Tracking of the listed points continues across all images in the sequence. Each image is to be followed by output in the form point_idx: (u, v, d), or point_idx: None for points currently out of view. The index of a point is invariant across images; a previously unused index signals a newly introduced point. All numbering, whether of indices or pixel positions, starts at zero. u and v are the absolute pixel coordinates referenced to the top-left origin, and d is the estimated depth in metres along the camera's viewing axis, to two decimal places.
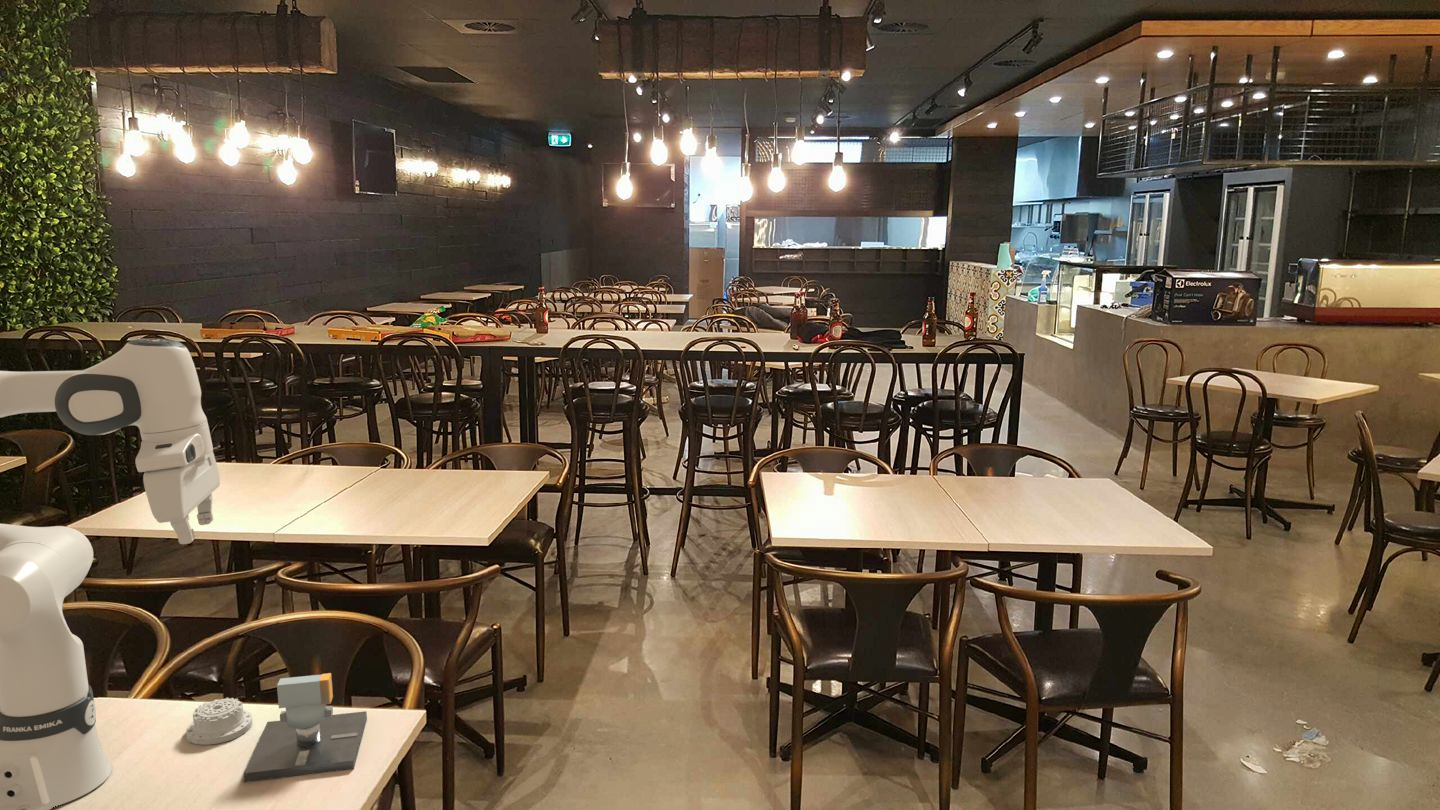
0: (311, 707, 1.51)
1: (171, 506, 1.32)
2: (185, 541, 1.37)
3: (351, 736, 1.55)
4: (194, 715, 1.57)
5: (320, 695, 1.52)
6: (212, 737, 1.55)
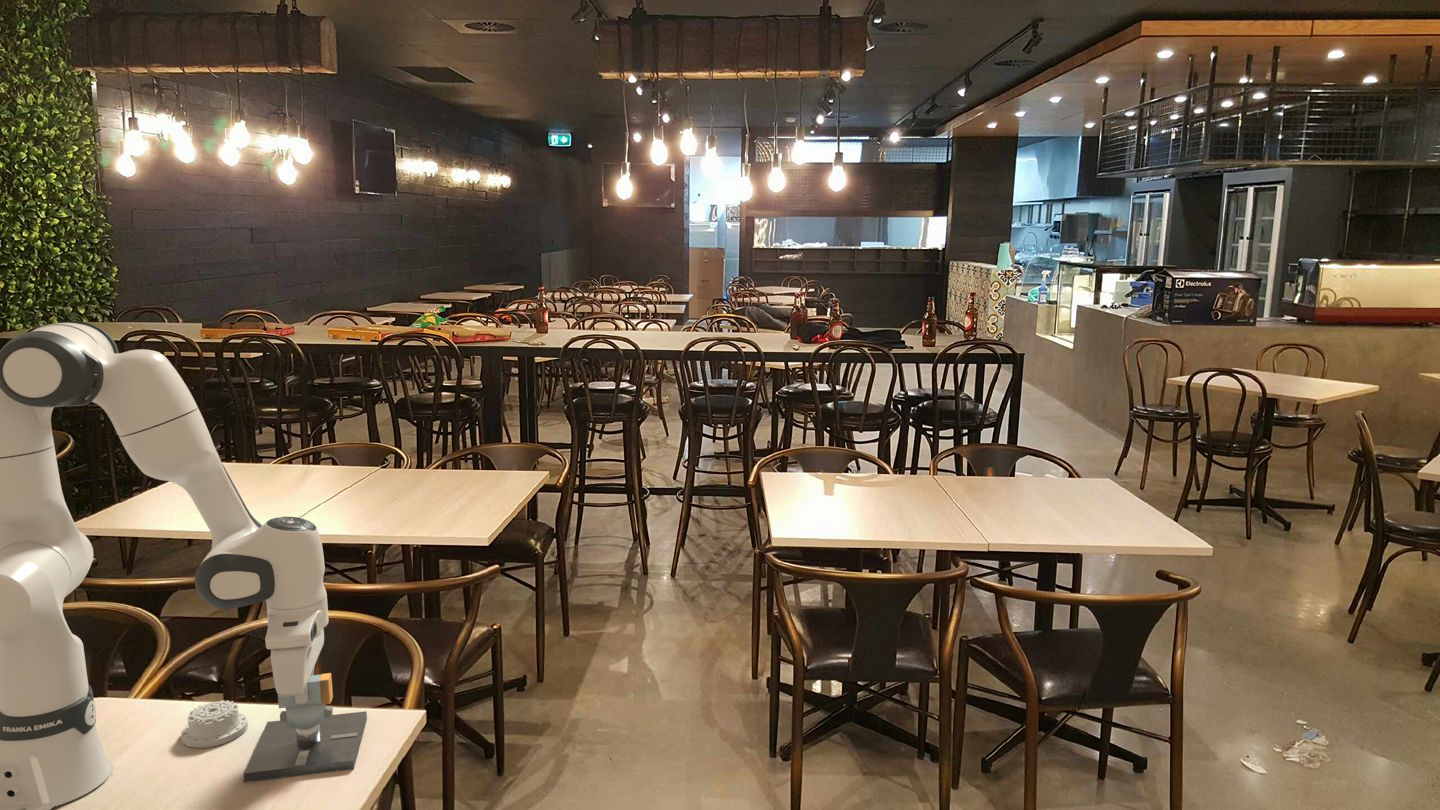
0: (311, 707, 1.51)
1: (294, 683, 1.42)
2: (301, 701, 1.50)
3: (351, 736, 1.55)
4: (189, 718, 1.56)
5: (320, 695, 1.52)
6: (207, 740, 1.54)
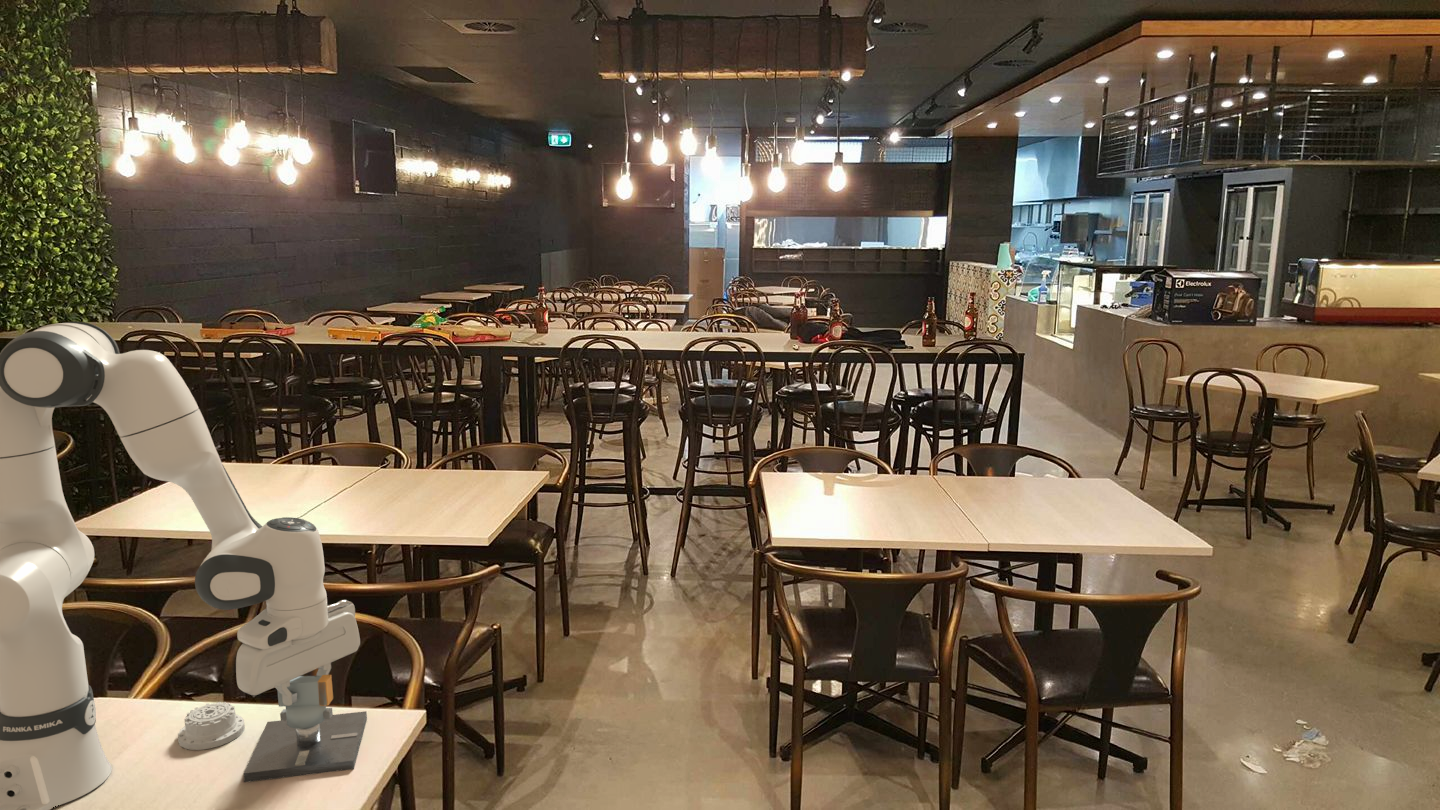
0: (308, 708, 1.51)
1: (246, 682, 1.42)
2: (285, 703, 1.50)
3: (351, 736, 1.55)
4: (186, 720, 1.56)
5: (318, 696, 1.51)
6: (204, 742, 1.54)
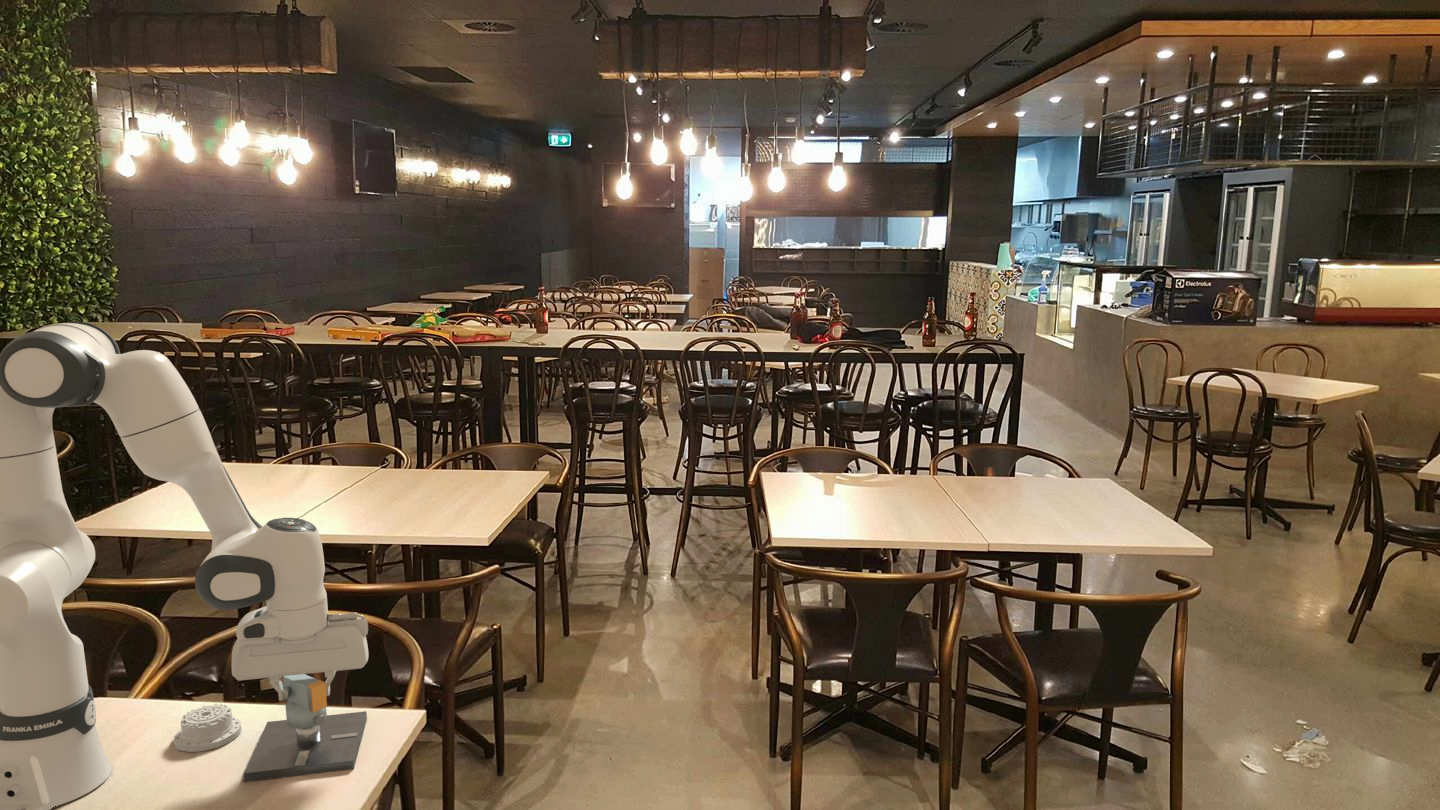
0: (297, 709, 1.50)
1: None
2: None
3: (351, 736, 1.55)
4: (182, 722, 1.55)
5: (307, 701, 1.50)
6: (200, 744, 1.53)
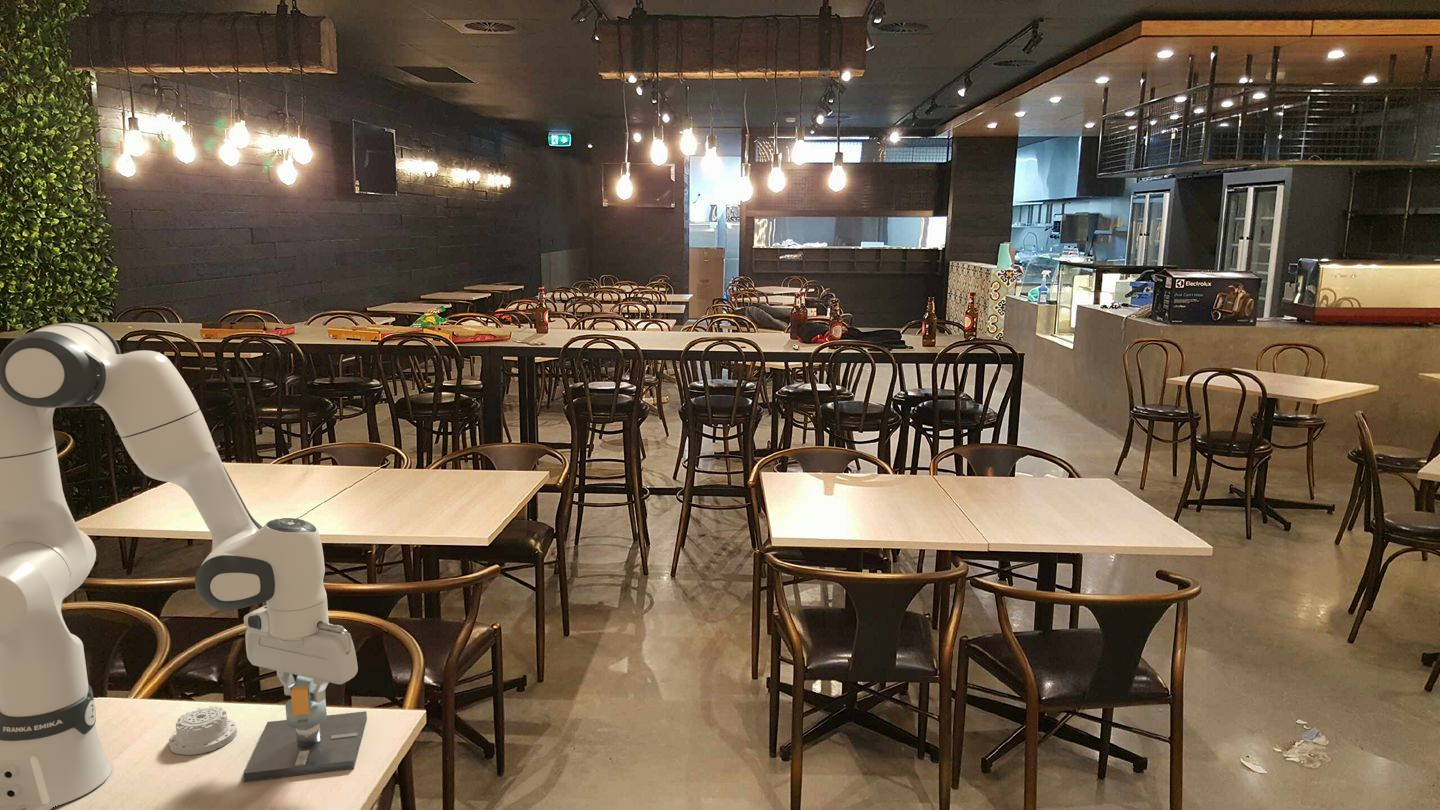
0: (290, 707, 1.51)
1: None
2: None
3: (351, 736, 1.55)
4: (177, 724, 1.54)
5: None
6: (195, 747, 1.52)
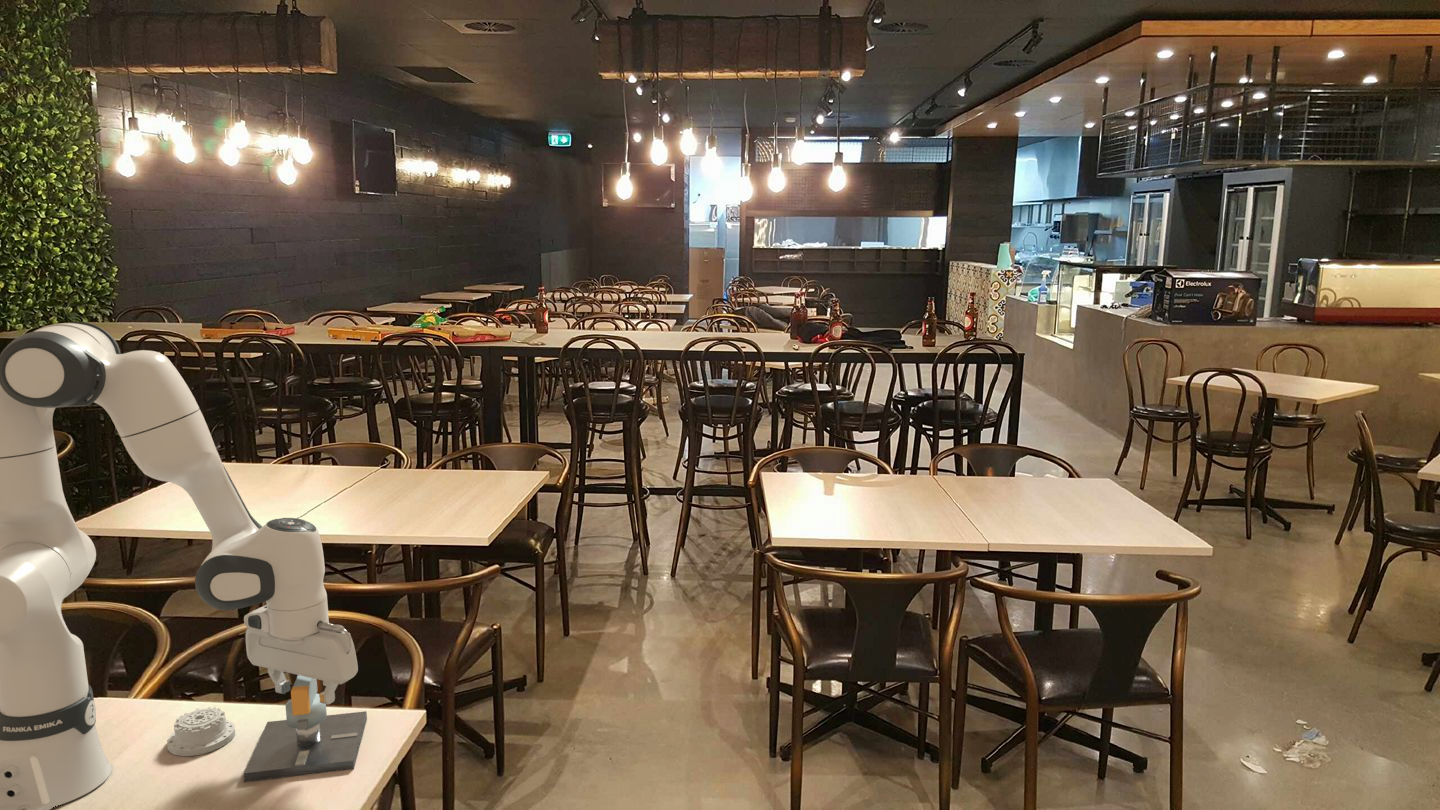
0: (289, 707, 1.51)
1: None
2: None
3: (351, 736, 1.55)
4: (175, 726, 1.54)
5: None
6: (194, 748, 1.52)
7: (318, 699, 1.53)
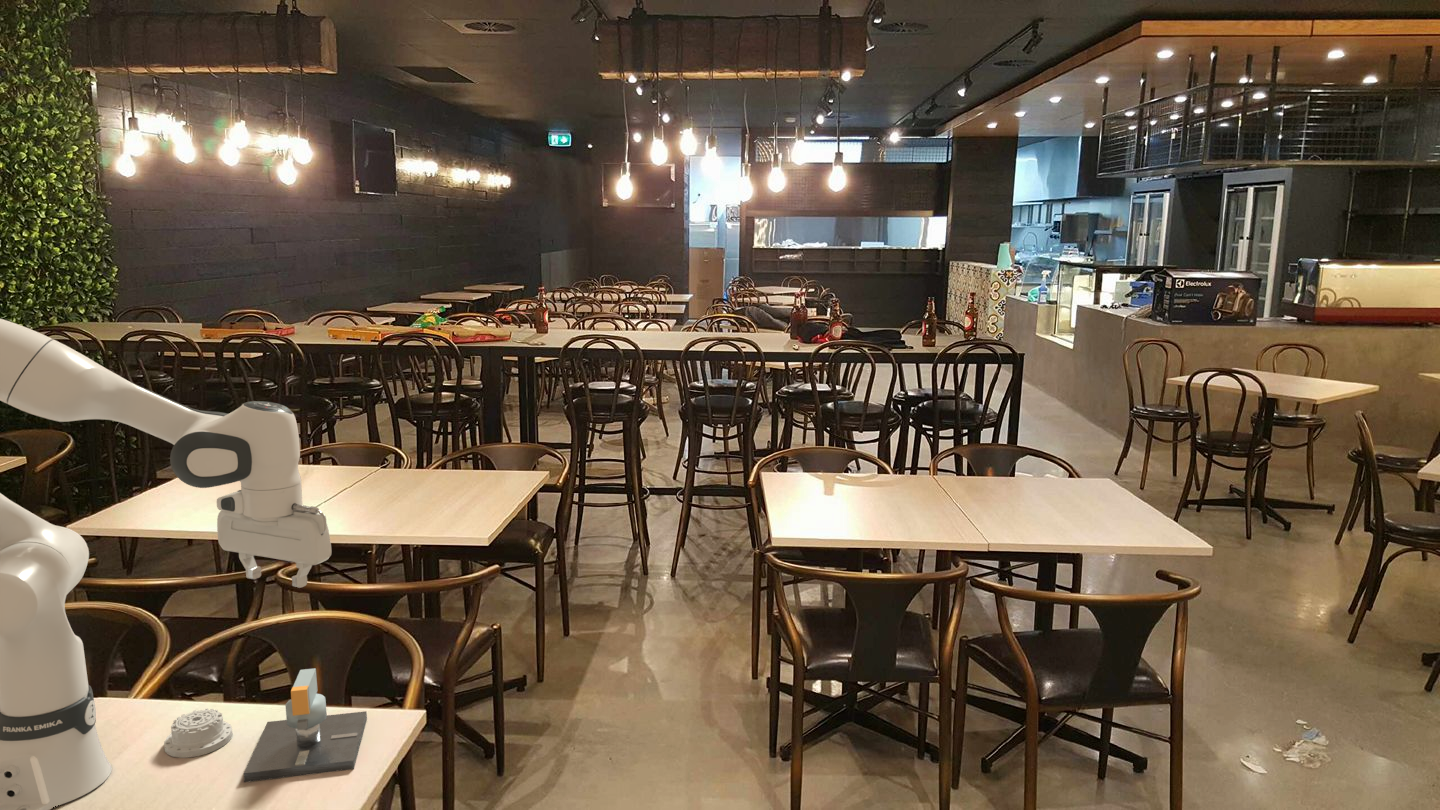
0: (289, 707, 1.51)
1: None
2: None
3: (351, 736, 1.55)
4: (172, 727, 1.53)
5: None
6: (191, 749, 1.52)
7: (318, 699, 1.53)
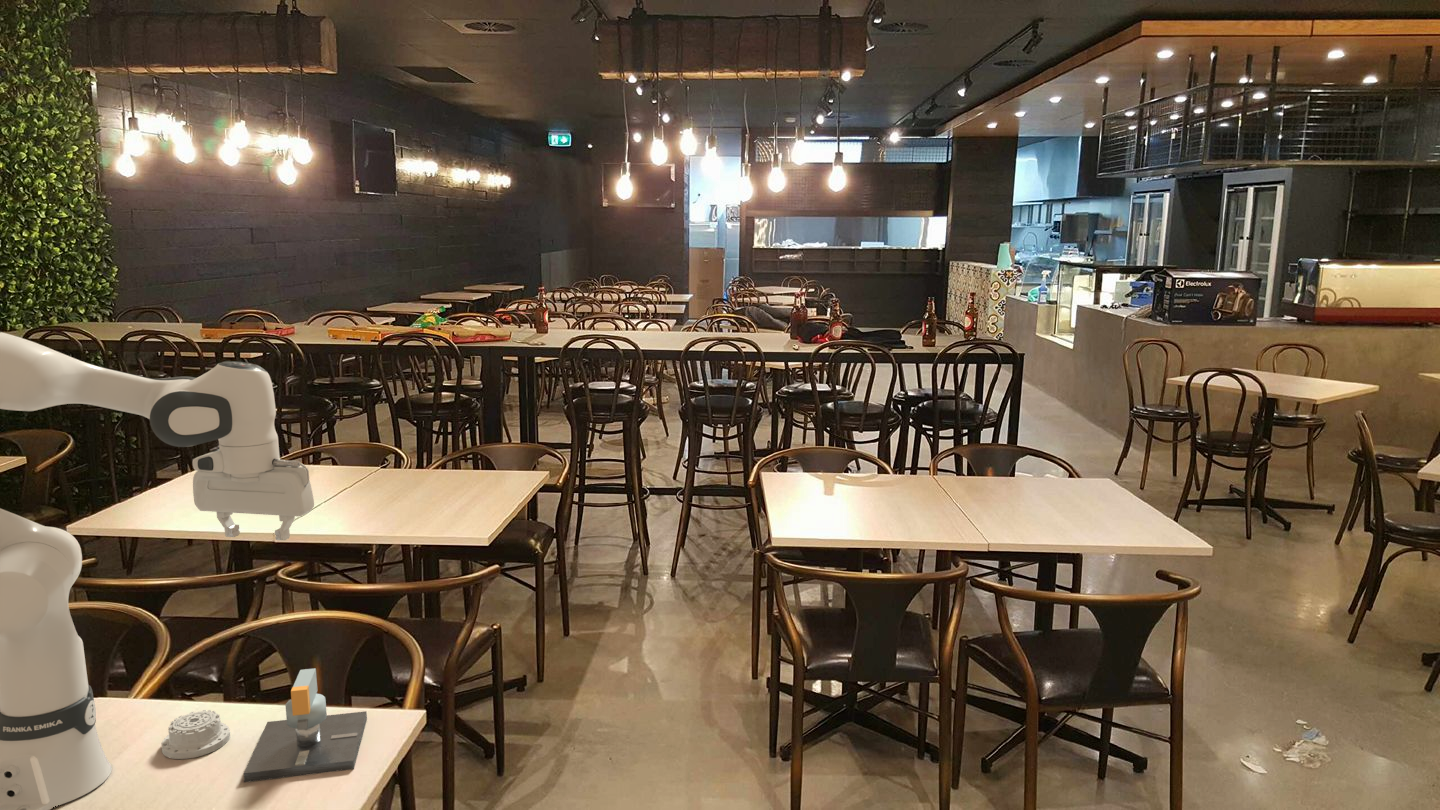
0: (289, 707, 1.51)
1: None
2: None
3: (351, 736, 1.55)
4: (170, 728, 1.53)
5: None
6: (188, 751, 1.51)
7: (318, 699, 1.53)
